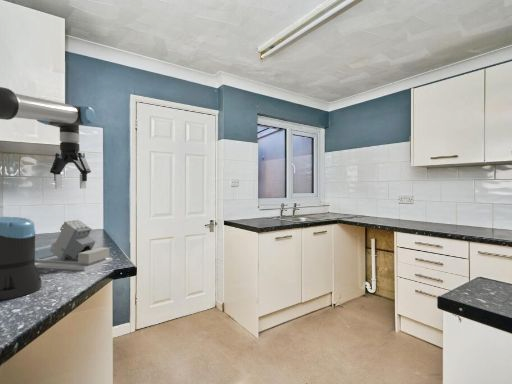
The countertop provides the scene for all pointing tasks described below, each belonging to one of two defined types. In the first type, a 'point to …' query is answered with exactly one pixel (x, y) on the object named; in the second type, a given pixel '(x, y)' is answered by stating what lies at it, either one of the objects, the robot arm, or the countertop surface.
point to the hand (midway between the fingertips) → (70, 188)
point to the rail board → (81, 263)
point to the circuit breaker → (72, 240)
